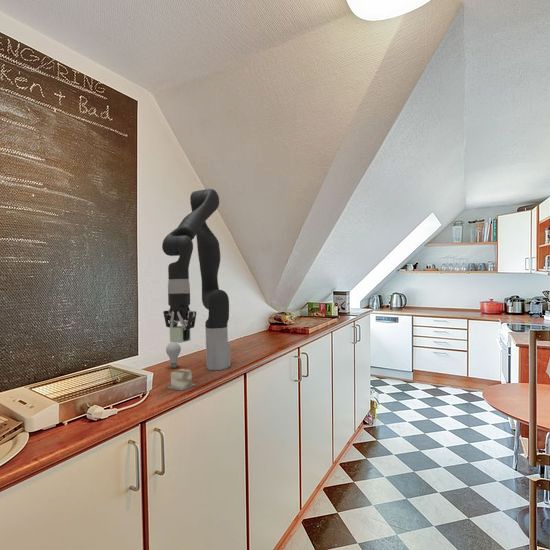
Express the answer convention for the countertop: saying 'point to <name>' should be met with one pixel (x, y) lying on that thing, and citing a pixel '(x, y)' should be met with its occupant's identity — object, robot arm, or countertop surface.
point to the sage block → (177, 334)
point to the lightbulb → (173, 353)
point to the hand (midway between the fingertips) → (180, 339)
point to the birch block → (181, 378)
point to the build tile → (182, 388)
